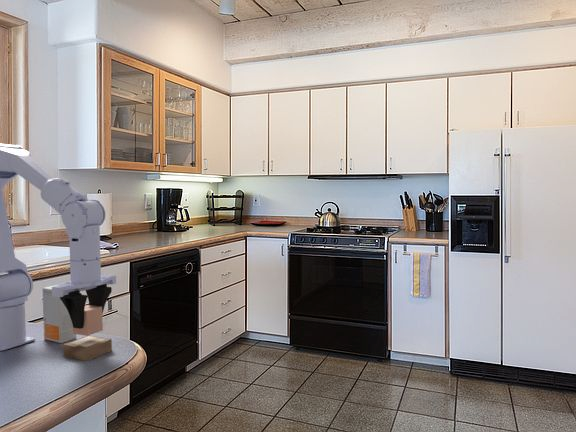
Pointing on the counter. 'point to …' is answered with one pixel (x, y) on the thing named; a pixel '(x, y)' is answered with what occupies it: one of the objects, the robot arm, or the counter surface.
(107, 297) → the robot arm
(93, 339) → the walnut foundation
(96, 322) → the terracotta block
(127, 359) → the counter surface
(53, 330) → the skincare box
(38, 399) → the counter surface
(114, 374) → the counter surface
